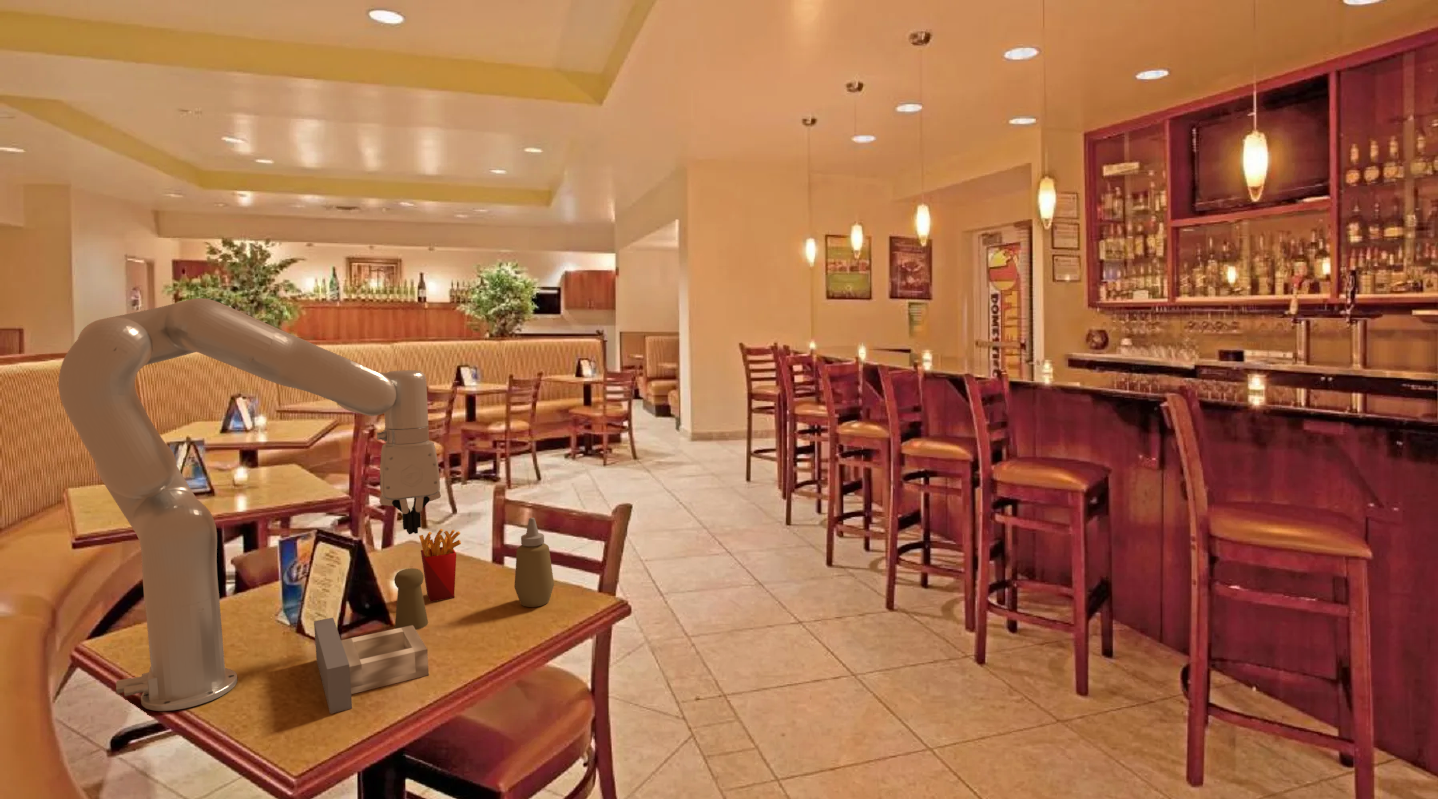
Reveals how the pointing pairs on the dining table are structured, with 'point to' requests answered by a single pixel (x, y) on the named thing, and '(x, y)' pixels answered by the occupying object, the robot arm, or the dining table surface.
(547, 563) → the squeeze bottle
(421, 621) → the pepper mill
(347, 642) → the holder block
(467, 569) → the dining table surface
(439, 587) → the french fries
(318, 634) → the backstop wall
